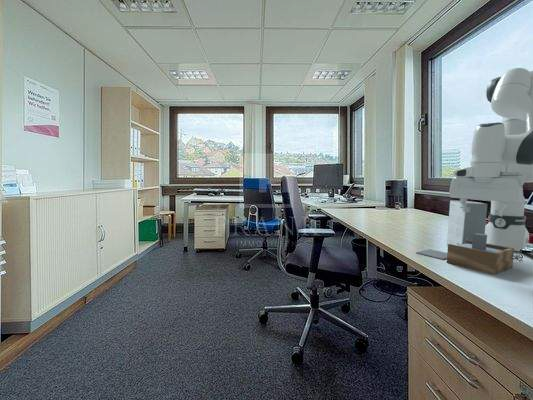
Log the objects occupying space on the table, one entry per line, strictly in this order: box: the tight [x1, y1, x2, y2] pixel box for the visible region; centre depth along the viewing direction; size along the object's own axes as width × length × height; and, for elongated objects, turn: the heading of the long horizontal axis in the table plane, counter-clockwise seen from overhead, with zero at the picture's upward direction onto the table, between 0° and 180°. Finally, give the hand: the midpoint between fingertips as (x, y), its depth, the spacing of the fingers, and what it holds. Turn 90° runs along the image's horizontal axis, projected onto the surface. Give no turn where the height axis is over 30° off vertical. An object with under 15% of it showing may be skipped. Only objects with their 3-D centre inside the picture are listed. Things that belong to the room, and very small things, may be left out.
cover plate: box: [458, 233, 501, 253], centre depth 101 cm, size 11×12×6 cm
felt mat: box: [415, 248, 447, 261], centre depth 114 cm, size 10×10×1 cm
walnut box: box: [446, 240, 515, 275], centre depth 101 cm, size 14×14×6 cm
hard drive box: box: [446, 200, 488, 247], centre depth 121 cm, size 16×8×20 cm, turn 168°
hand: (481, 213), depth 100 cm, fingers open, 8 cm apart
